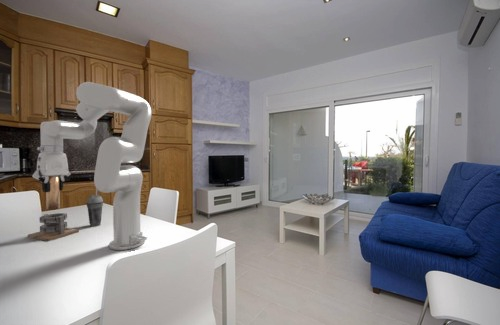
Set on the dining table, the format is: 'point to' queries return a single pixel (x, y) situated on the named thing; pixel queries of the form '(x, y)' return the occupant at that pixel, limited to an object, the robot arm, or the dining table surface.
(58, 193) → the copper tube
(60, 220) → the collar stand
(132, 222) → the robot arm
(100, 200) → the beverage cup
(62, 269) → the dining table surface
